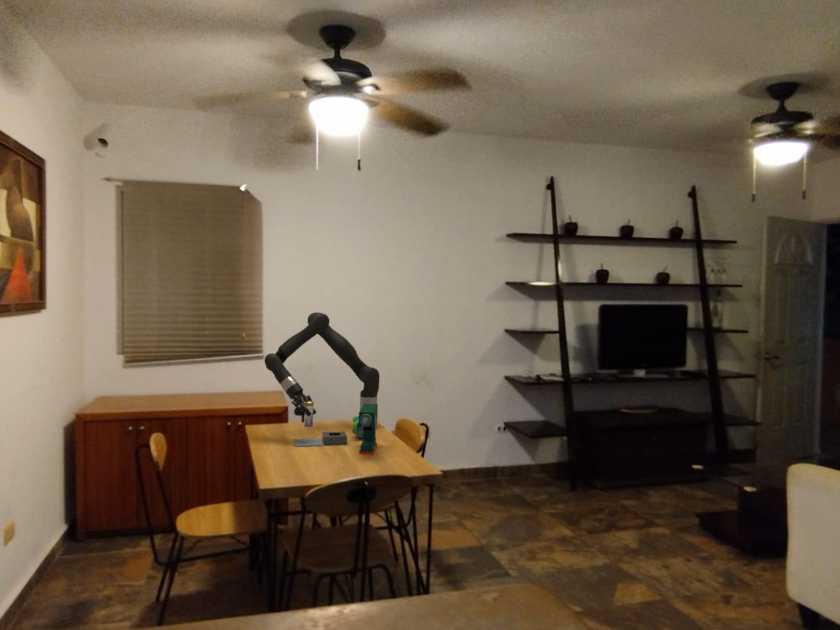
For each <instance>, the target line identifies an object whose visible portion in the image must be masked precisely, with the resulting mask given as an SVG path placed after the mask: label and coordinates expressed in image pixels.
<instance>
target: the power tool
mask: <svg viewBox="0 0 840 630" xmlns="http://www.w3.org/2000/svg"><path fill="white" fill-rule="evenodd" d="M378 406H379V405H378V403H377V404H364V405H363V407H362V408H361V410H360V409H359V412H358V416H359V427H363V439H362V442H361V444H360V450H359V451H358V454H359V455H374V454H375V451H376V448H377V445H378V442H377V437H376V435H377V434H376V432H377V431H376V421H377V422H378V419H377V417H379V415H378V414H377V411H378Z"/></svg>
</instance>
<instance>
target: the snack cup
mask: <svg viewBox="0 0 840 630" xmlns="http://www.w3.org/2000/svg"><path fill="white" fill-rule="evenodd" d="M352 422H353V425H352V426H353V428H352V433H353V435H355V438H357V439H360V440H363V427H359V415H357V416H354V417H352Z"/></svg>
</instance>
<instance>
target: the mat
mask: <svg viewBox="0 0 840 630" xmlns="http://www.w3.org/2000/svg"><path fill="white" fill-rule="evenodd" d="M294 446H295V448H300V447H301V448H302V447H306V448H309V447H324V444H323V440H322V438H320V437H319V438H295V439H294Z"/></svg>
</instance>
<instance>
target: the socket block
mask: <svg viewBox="0 0 840 630" xmlns="http://www.w3.org/2000/svg"><path fill="white" fill-rule="evenodd" d="M321 434H322V438H321V439H322V443H323V446H345V445H346V446H347V445H348V435H347V434H346V431H323V432H322V433H321Z"/></svg>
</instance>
